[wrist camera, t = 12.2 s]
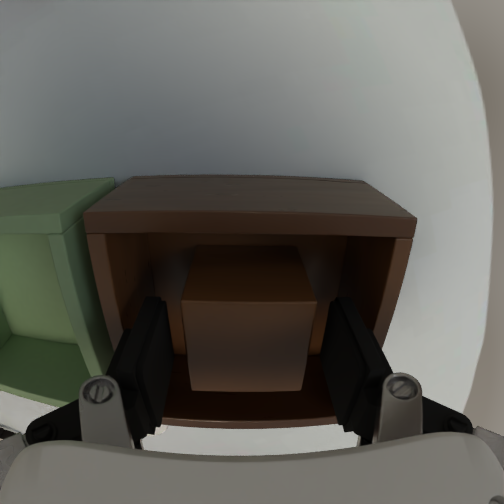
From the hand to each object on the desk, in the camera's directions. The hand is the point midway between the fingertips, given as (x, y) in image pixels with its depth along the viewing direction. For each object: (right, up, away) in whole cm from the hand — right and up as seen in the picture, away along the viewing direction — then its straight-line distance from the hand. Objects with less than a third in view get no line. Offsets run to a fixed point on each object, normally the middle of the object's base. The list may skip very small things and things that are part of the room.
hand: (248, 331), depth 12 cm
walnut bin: (0, +2, +4) cm, 4 cm away
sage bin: (-11, +2, +3) cm, 12 cm away
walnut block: (0, +1, +3) cm, 4 cm away
